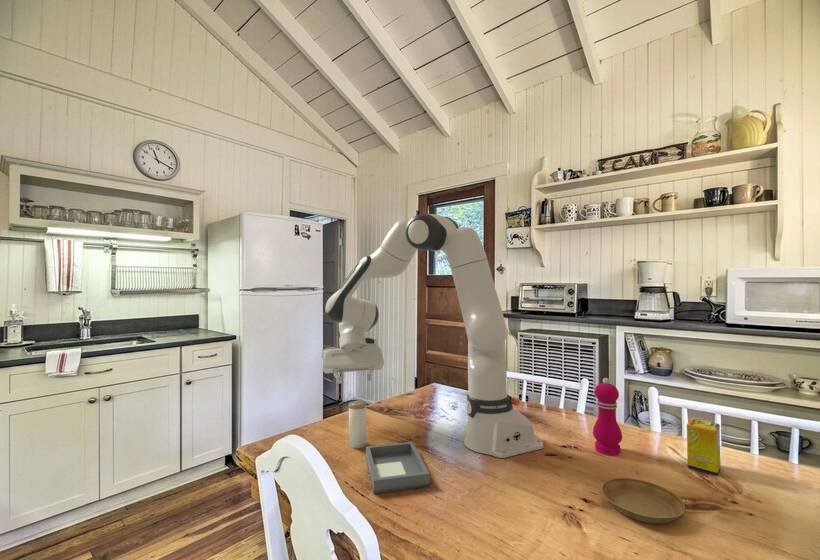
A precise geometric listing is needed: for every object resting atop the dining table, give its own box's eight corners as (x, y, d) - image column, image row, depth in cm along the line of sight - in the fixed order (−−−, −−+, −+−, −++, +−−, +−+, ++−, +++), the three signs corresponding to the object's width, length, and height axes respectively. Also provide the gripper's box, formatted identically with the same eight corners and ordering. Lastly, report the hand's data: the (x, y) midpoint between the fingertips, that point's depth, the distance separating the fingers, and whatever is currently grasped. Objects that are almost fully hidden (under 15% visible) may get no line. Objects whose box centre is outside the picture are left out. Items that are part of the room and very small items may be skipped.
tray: (412, 452, 105) (412, 441, 105) (429, 486, 87) (429, 473, 87) (365, 457, 102) (365, 446, 102) (373, 494, 85) (373, 480, 85)
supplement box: (691, 459, 98) (690, 417, 98) (721, 467, 94) (720, 423, 94) (686, 468, 94) (685, 424, 94) (717, 476, 90) (716, 430, 90)
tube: (365, 440, 114) (365, 400, 114) (367, 447, 109) (367, 405, 109) (348, 441, 113) (347, 401, 113) (349, 449, 108) (348, 407, 108)
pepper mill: (626, 457, 100) (625, 381, 100) (597, 455, 101) (595, 380, 102) (617, 445, 107) (616, 375, 107) (590, 444, 108) (588, 374, 109)
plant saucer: (585, 498, 82) (585, 486, 82) (631, 483, 88) (631, 471, 88) (653, 540, 69) (653, 526, 69) (702, 518, 74) (701, 505, 74)
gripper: (321, 342, 127) (321, 378, 118) (381, 339, 131) (386, 374, 122) (322, 353, 132) (321, 389, 122) (380, 350, 136) (384, 384, 126)
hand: (354, 381), depth 122 cm, fingers open, 8 cm apart
